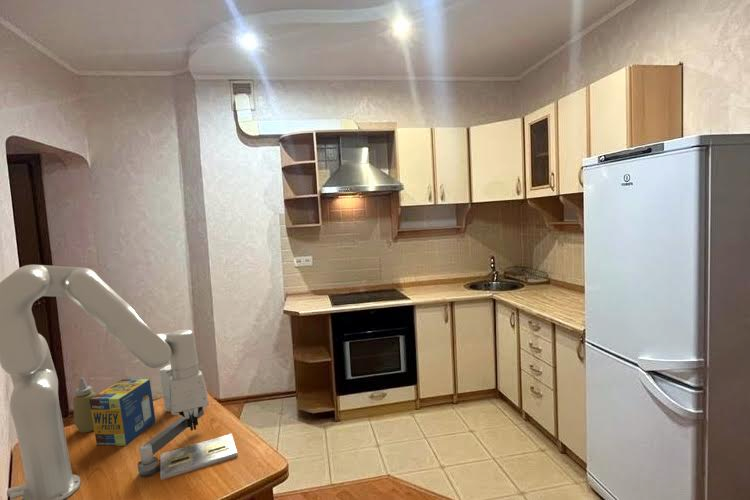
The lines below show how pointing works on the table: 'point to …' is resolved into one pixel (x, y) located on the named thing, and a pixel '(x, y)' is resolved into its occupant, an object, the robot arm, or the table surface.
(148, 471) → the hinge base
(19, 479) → the table surface
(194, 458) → the label panel
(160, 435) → the lever
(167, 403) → the skincare box
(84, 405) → the squeeze bottle
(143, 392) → the protein box
